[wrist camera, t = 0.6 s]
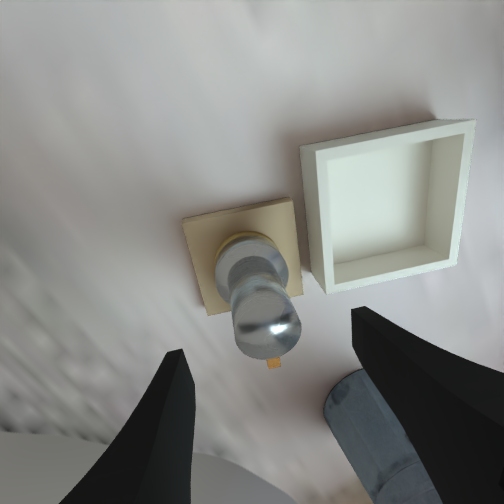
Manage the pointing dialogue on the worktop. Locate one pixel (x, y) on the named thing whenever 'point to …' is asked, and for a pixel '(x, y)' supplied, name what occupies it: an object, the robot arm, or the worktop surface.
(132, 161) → the worktop surface
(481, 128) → the worktop surface
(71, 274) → the worktop surface
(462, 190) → the tray
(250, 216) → the stud block
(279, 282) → the coffee tamper
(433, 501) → the moka pot
